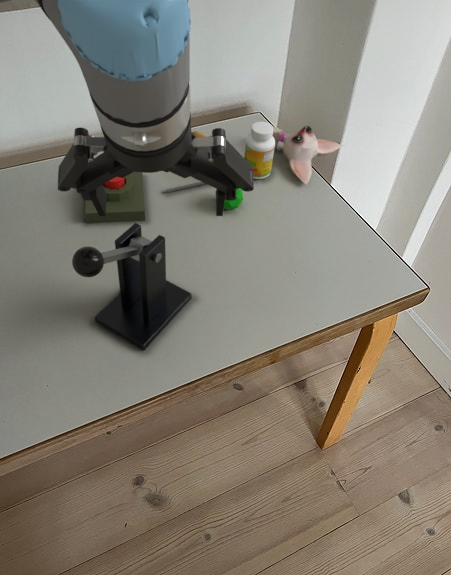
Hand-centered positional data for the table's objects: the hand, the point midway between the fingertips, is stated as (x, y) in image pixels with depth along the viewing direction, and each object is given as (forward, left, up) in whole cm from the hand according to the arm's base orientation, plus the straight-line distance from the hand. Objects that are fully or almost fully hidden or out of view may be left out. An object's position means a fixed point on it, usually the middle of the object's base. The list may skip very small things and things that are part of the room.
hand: (161, 205), depth 68 cm
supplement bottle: (-36, +20, -23) cm, 47 cm away
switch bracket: (-3, -3, -23) cm, 24 cm away
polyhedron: (-26, +13, -23) cm, 38 cm away
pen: (-32, +9, -23) cm, 41 cm away
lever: (+1, -7, -9) cm, 11 cm away
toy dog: (-46, +22, -19) cm, 54 cm away
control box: (-29, -7, -23) cm, 38 cm away
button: (-29, -7, -20) cm, 36 cm away
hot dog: (-37, +10, -21) cm, 43 cm away
